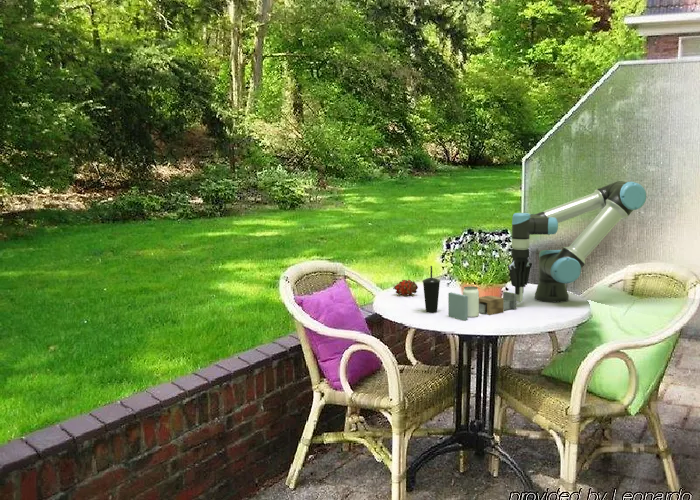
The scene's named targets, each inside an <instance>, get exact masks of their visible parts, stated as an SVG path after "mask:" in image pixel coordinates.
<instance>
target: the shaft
mask: <svg viewBox="0 0 700 500" xmlns="http://www.w3.org/2000/svg"><path fill="white" fill-rule="evenodd" d="M502 298H504V300H503V311H506V310H511V309H512V310H517V303H518V302H517V294H515V292H514V293H513V292H510V291H503V292H502ZM479 313H481V314H487V303H480V304H479Z"/></svg>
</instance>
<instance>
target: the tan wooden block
mask: <svg viewBox="0 0 700 500" xmlns="http://www.w3.org/2000/svg"><path fill="white" fill-rule="evenodd" d="M503 300H504V298H503V297H500V296H496V295H495V296H494V295H485V296H484V295H483V296H479V304H480V303H487V313H486V315H487V316H492V315H497V314H502V313H504V310H503Z"/></svg>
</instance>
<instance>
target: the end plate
mask: <svg viewBox="0 0 700 500" xmlns="http://www.w3.org/2000/svg"><path fill="white" fill-rule="evenodd" d="M447 295H448V297H447V298H448V317H450V318H453V319H457V320H461V321H464V322H465V321H468V318H469V317H468V296H465V295H463V294H460V293H455V292H452V291H451V292H448V293H447Z"/></svg>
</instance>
